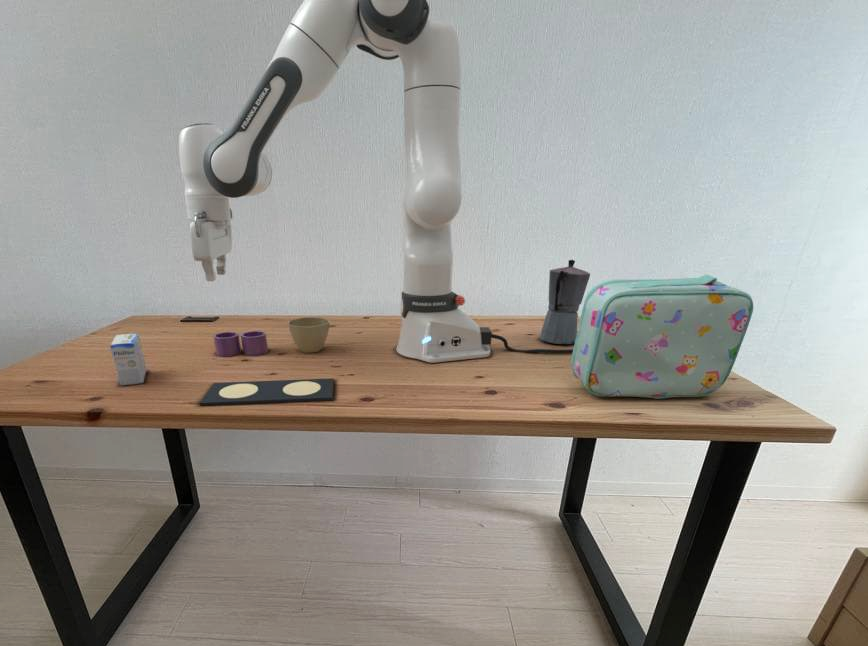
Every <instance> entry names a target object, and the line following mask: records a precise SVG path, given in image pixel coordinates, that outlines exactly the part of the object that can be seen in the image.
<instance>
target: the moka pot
mask: <svg viewBox="0 0 868 646" xmlns="http://www.w3.org/2000/svg"><path fill="white" fill-rule="evenodd" d="M575 263H576V260H575V259H568V266H565V267H559V268H558V267H557V268H553V269H550V270H549V276H548V277H549V278H548V281H549V282H548V307H547V309H548V310H547V312H546V315H545V318H544V321H543V325H542V328H541V331H540V334H539V339H540V340H541V341H543V342H544V343H550V344H555V345H573V344H575V340H576V337H577V332H578V320H579V319H578V317H579V313H578V311H579V309H580V305H581V304H582V302H583V299H584V297H585V296H584V295H585V293H586V289H587V286H588V284H589V280H590V277H591V273H590V272H589V271H586V270H583V269H580V268H578V267H575Z"/></svg>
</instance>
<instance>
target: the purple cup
mask: <svg viewBox="0 0 868 646" xmlns="http://www.w3.org/2000/svg"><path fill="white" fill-rule="evenodd" d="M240 339H241V340H240V341H241V348H242V352H243V354H244V355H245V356H262V355H264V354H266V353H268V351H269V350H268V349H269V348H268V347H269V346H268V339H267V333H266V332H265V331H262V330H250V331H246V332H243V333H241V334H240Z"/></svg>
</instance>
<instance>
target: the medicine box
mask: <svg viewBox="0 0 868 646" xmlns="http://www.w3.org/2000/svg"><path fill="white" fill-rule="evenodd" d="M109 347H110V351H111V355H112V359H113V363H114V366H115V371H116V375H117V378H118V382H119V385H120V386H130V385H131V386H132V385H139V384H143V383H144V382H145V377H146V373H147V365H146V360H145V356H144V352H143V347H142V343H141V338H140V335H139V333H123V334H116V335H115V336H114V338H113V340H112V342H111V343H110V346H109Z"/></svg>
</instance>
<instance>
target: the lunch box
mask: <svg viewBox="0 0 868 646" xmlns="http://www.w3.org/2000/svg"><path fill="white" fill-rule="evenodd" d="M753 312H754V301H753V298H752V296H751V295H750V294H749V293H747V292H746V291H743V290H741V289H739V288H736V287H733V286H730V285H727V284H726V283H723V282H721V281H718V278H717V277H714V276H713V275H710V274H704V275H701V276H698V277H685V278H684V277H683V278H663V279H662V278H661V279H656V278H655V279H650V278H649V279H626V278H625V279H623V278H621V279H619V278H615V279H614V278H613V279H607V280H604V281H601V282H599V283H597V284H595V285H594V286H593V287H592V288H591V289H590V290H589V291H588V292H587V294H586V296H585V299H584V302H583V306H582V310H581V314H580V319H579V323H578V327H577V337H576V340H575V343H574V345H573V348H572V349H573V353H571V363H570V365H571V371H572V374H573V376H574V377H575V378H576V379H578V380H579V381H580V382H581V384H582V385H583V386H584V387H585V389H586V391H588V392H589V393H590V394H592V395H594V396H597V397H606V398H607V397H611V398H613V397H614V398H615V397H616V398H619V397H620V398H621V397H623V398H624V397H632V398H650V399H654V400H661V399H667V398H668V399H669V398H699V397H705V396H709V395H712V394H713V393H715V392H717V391H718V390H719V389H720V388H721V387H722V386H723V385H724V384H725V383H726V381H727V380H728V379H729V377H730V375H731V372H732V370H733V368H734V365H735V363H736V360H737V357H738V355H739V352H740V350H741V347H742V343H743V342H744V339H745V336H746V333H747V331H748V328H749V325H750V322H751V320H752V317H753Z"/></svg>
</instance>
